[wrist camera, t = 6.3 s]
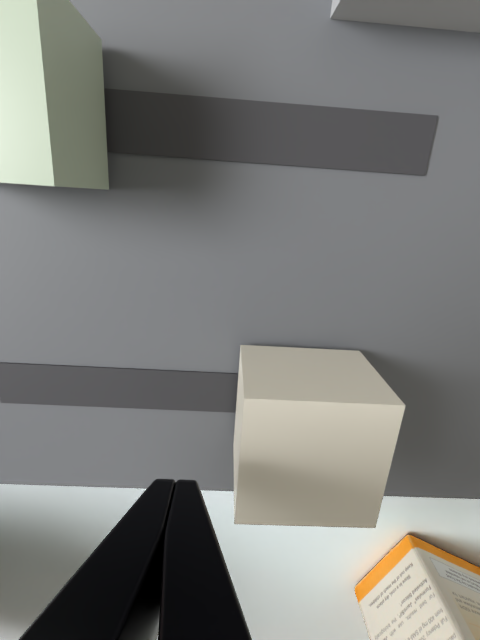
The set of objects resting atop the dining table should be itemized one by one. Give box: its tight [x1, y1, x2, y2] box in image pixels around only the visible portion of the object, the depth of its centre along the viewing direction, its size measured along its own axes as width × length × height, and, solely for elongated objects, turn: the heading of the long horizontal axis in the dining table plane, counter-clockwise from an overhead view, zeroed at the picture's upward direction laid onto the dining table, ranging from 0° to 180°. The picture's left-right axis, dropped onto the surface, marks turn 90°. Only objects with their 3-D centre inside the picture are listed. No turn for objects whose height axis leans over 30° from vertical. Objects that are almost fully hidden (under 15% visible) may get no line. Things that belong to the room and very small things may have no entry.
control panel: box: [0, 0, 480, 499], centre depth 10 cm, size 20×20×4 cm
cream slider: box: [233, 345, 406, 528], centre depth 10 cm, size 4×4×3 cm
